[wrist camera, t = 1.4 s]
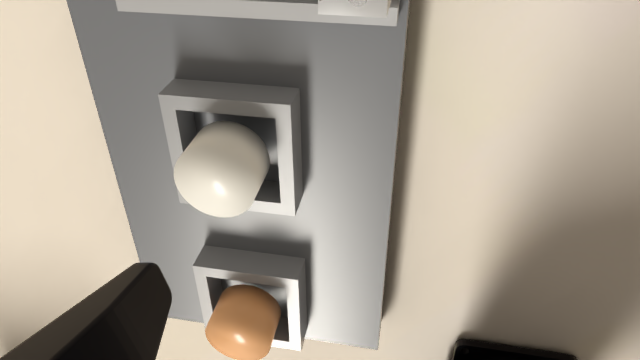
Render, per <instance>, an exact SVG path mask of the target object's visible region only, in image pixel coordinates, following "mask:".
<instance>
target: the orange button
mask: <svg viewBox="0 0 640 360" xmlns="http://www.w3.org/2000/svg"><path fill="white" fill-rule="evenodd" d="M280 317H281V309H280V306H279V304H278V302H277V301H276V299H275V298H274V297H273V296H272V295H270V294H269V293H268V292H266V291H264V290H262V289H260V288H258V287H255V286H251V285H244V284H239V285H233V286H230V287H228V288H226V289H225V290H224V291H223V292H222V294H221V296H220V298H219V300H218V302H217V304H216V307H215V309H214V311H213V313H212V315H211V317H210V319H209V322H208V324H207V326H206V330H205V332H206V337H207V339H208V341H209V342H210V344H211V345H212V346H213V347H214V348H215V349H216V350H218V351H219V352H221V353H222V354H224V355H226V356H228V357H231V358H233V359H237V360H259V359H261V358H263V357H265V356H266V355H267V354H268V353H269V351H270V348H271V345H272V342H273V339H274V335H275V332H276V329H277V326H278V323H279V320H280Z"/></svg>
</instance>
